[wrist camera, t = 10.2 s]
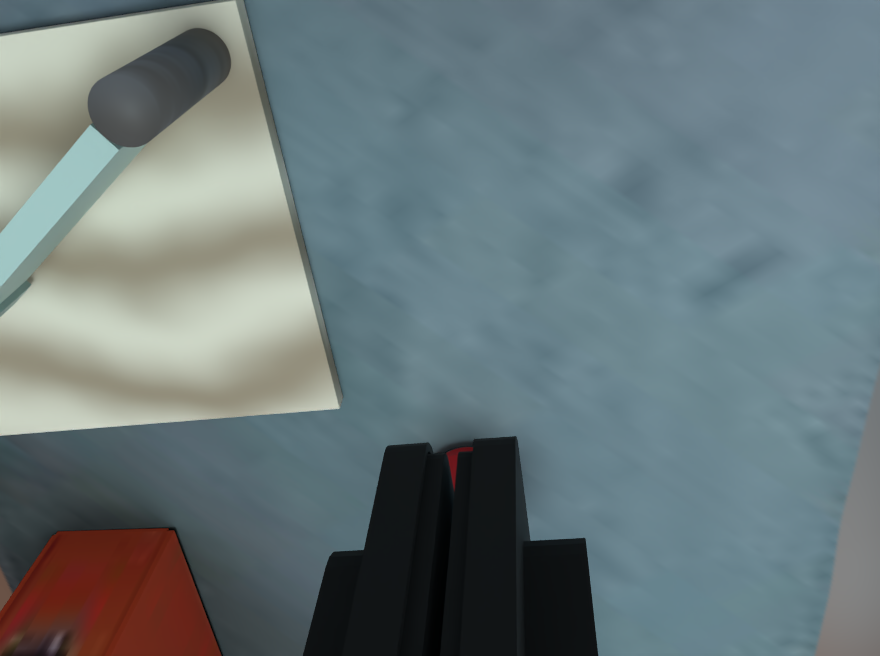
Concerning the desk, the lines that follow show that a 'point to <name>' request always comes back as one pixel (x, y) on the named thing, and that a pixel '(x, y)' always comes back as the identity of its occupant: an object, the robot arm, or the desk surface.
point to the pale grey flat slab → (57, 209)
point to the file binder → (107, 599)
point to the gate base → (157, 231)
